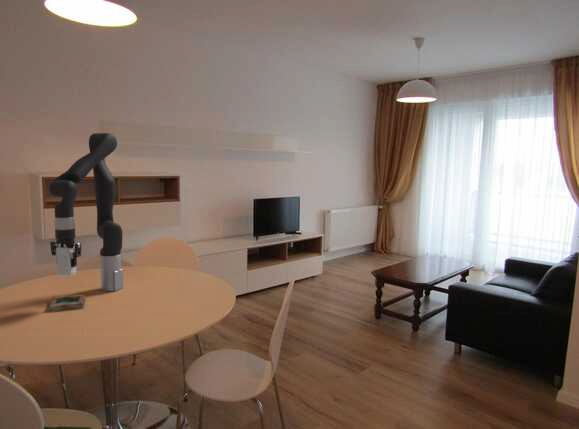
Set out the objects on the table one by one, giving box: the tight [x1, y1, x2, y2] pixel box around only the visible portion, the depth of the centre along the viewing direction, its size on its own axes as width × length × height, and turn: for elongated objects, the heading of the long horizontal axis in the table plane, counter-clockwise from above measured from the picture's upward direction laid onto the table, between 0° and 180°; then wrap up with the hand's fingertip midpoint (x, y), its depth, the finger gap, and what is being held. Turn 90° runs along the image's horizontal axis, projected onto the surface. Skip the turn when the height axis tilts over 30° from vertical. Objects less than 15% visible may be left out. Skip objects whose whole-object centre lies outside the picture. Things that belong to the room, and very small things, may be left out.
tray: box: [48, 294, 86, 313], centre depth 176 cm, size 13×13×2 cm
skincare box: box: [56, 247, 77, 277], centre depth 174 cm, size 6×4×12 cm
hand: (66, 265), depth 174 cm, fingers closed on skincare box, 6 cm apart
